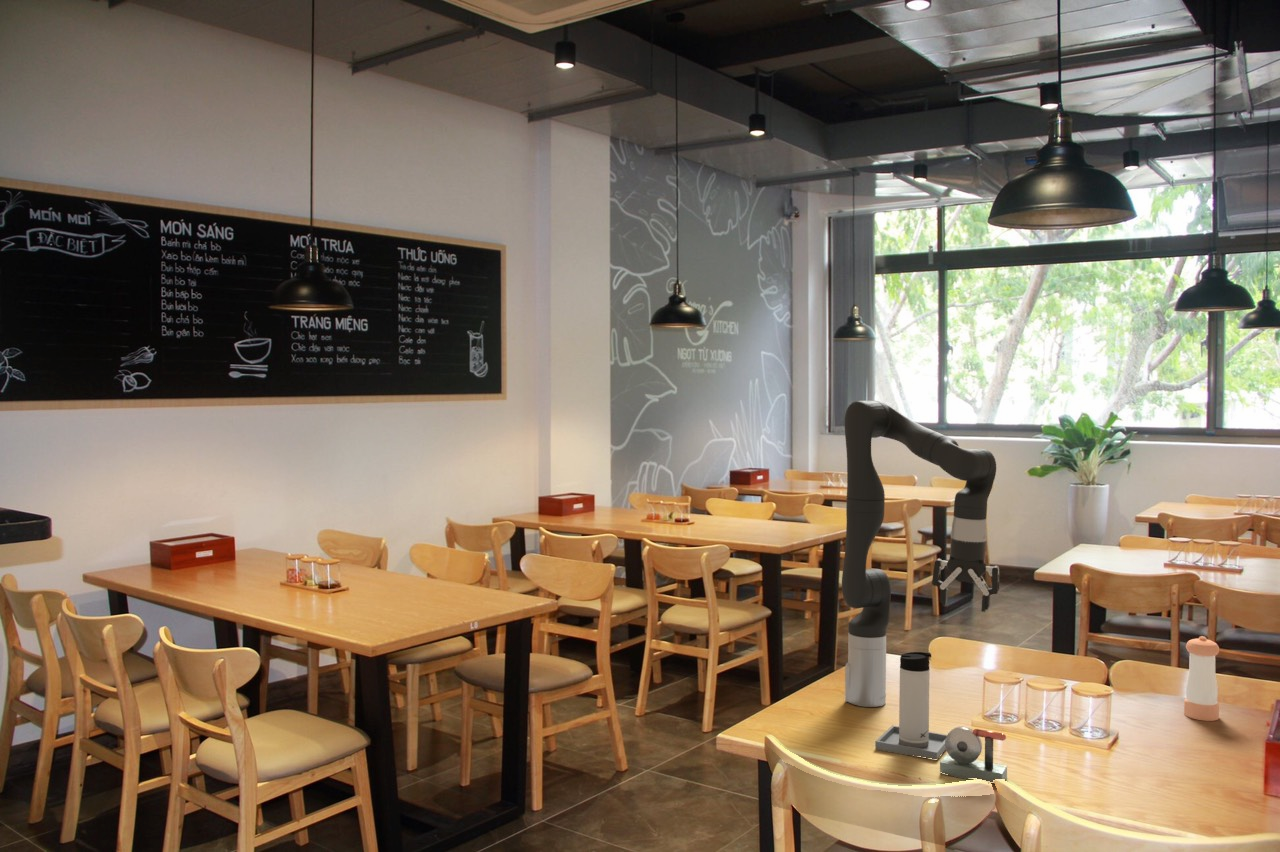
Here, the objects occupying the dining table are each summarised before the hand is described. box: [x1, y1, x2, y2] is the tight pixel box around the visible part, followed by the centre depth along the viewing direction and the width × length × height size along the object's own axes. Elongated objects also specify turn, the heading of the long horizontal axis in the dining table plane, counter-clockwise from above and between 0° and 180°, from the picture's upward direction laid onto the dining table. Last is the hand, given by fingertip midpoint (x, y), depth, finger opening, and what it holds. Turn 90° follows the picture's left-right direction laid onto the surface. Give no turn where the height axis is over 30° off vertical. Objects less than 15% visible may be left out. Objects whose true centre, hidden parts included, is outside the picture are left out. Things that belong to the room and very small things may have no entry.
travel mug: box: [898, 651, 932, 748], centre depth 217 cm, size 6×7×20 cm
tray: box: [874, 724, 948, 760], centre depth 217 cm, size 13×12×2 cm
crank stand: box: [939, 726, 1008, 782], centre depth 201 cm, size 12×5×10 cm, turn 59°
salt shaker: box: [1183, 635, 1220, 722], centre depth 238 cm, size 7×7×19 cm
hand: (963, 608), depth 225 cm, fingers open, 8 cm apart
